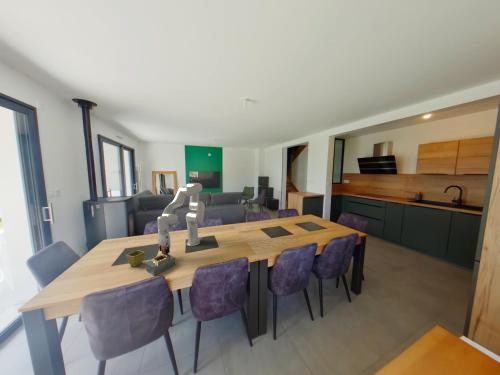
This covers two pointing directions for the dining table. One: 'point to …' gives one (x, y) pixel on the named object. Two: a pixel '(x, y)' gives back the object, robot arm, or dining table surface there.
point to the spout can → (163, 249)
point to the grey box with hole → (160, 264)
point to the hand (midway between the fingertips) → (164, 251)
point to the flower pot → (135, 257)
